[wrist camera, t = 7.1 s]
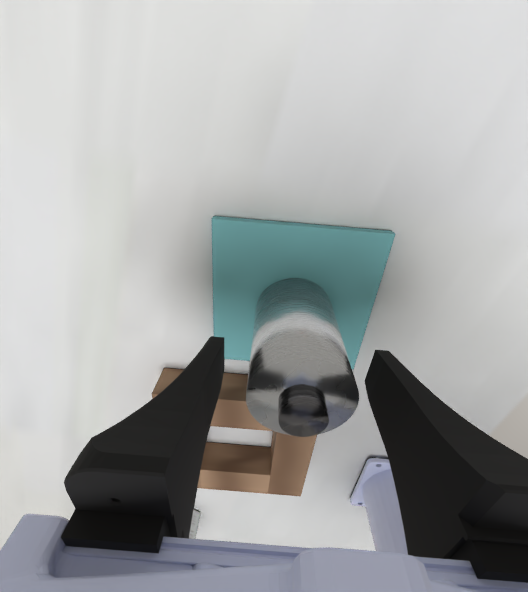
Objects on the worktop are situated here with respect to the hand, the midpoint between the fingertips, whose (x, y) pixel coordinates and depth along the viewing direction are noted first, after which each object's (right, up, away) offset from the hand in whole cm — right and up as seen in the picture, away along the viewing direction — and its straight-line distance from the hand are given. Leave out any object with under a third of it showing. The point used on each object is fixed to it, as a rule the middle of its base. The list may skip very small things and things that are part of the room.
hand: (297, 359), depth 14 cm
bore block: (-4, -8, +11) cm, 14 cm away
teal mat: (0, +3, +5) cm, 6 cm away
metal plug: (0, +2, +5) cm, 5 cm away
